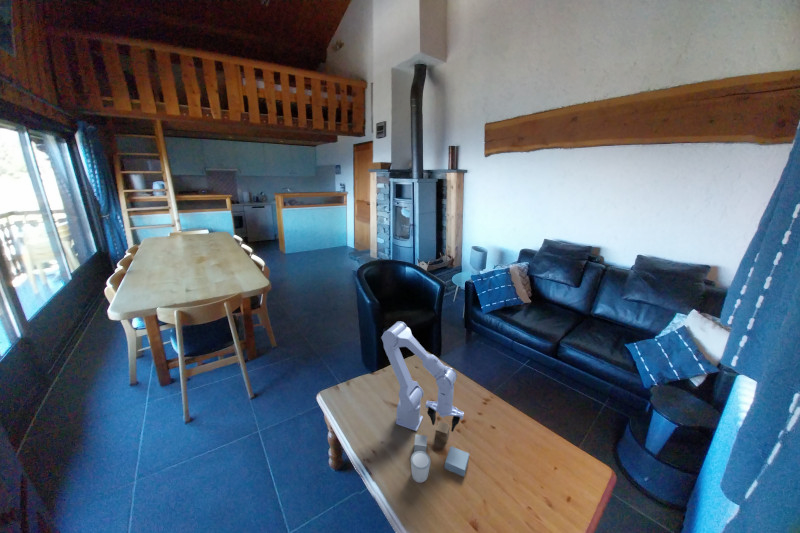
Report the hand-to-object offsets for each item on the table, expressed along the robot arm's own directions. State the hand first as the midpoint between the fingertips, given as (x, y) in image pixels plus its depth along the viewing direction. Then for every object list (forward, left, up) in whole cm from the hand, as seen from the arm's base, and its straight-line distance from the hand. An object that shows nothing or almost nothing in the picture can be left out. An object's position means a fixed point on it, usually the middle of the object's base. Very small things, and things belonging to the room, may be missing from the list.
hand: (443, 426), depth 118 cm
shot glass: (-3, -18, -6) cm, 19 cm away
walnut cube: (0, 0, -6) cm, 6 cm away
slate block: (+8, -9, -6) cm, 13 cm away
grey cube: (-6, -9, -6) cm, 12 cm away
